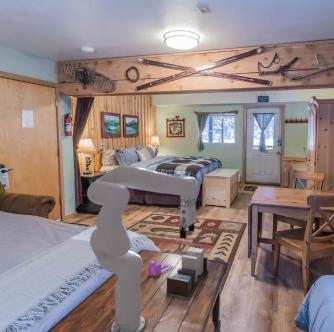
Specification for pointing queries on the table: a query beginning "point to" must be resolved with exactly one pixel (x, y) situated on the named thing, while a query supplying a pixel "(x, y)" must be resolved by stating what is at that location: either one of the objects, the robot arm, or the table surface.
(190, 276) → the grey books
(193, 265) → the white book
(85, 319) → the table surface
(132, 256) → the robot arm
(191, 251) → the white books
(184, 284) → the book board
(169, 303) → the table surface
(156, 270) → the bracket
